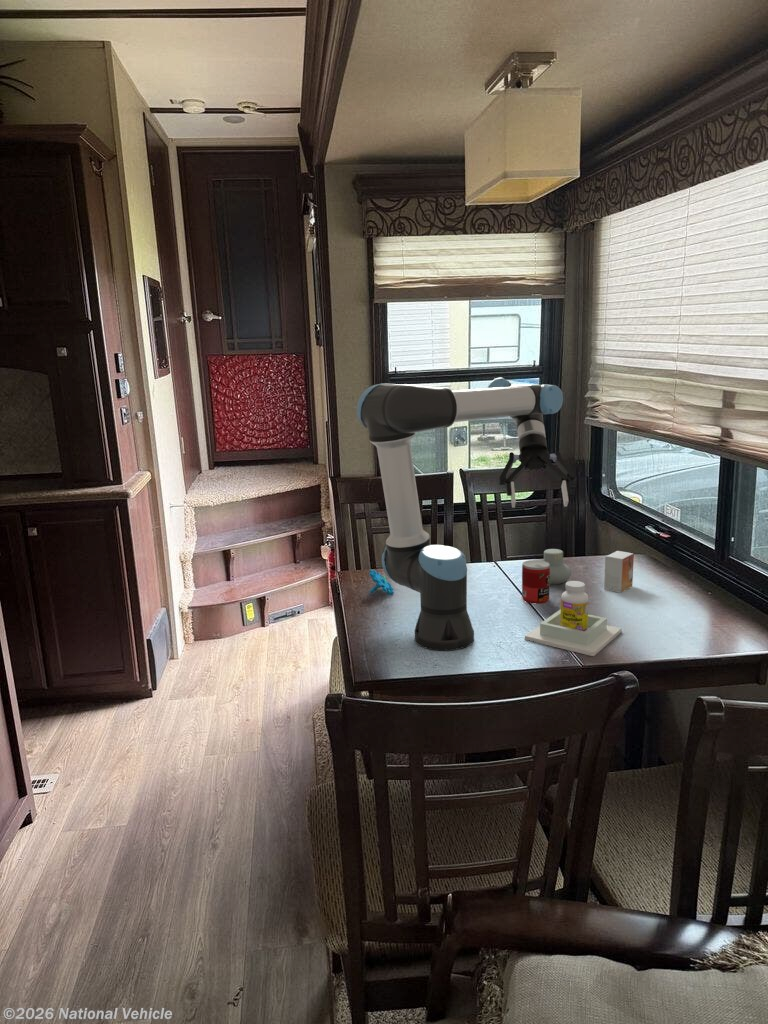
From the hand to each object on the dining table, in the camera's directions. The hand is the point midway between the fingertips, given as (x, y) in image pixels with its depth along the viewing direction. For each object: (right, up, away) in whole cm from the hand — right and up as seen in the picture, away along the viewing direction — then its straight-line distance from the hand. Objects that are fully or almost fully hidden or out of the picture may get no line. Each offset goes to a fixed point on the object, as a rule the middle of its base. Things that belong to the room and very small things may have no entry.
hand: (540, 504), depth 180 cm
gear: (-42, -27, +32) cm, 59 cm away
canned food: (+3, -28, +21) cm, 35 cm away
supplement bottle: (+7, -33, -6) cm, 34 cm away
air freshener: (+12, -24, +37) cm, 46 cm away
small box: (+30, -25, +29) cm, 49 cm away
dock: (+7, -33, -6) cm, 35 cm away
